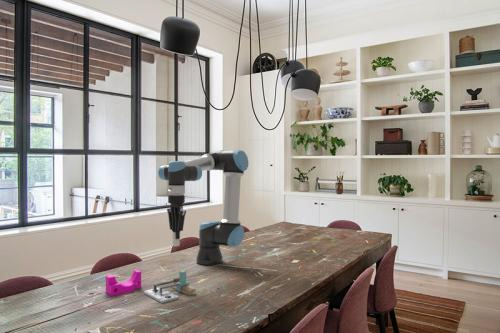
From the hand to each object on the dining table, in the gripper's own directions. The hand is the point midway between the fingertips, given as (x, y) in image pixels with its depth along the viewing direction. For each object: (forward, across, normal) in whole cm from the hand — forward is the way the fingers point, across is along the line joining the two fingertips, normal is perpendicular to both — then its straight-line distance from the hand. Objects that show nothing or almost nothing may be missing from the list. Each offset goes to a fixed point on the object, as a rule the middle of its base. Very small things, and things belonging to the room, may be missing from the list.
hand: (176, 245), depth 176 cm
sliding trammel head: (+19, +7, 0) cm, 21 cm away
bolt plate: (+20, +5, -11) cm, 23 cm away
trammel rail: (+19, +5, 0) cm, 20 cm away
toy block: (+20, -12, -19) cm, 30 cm away
